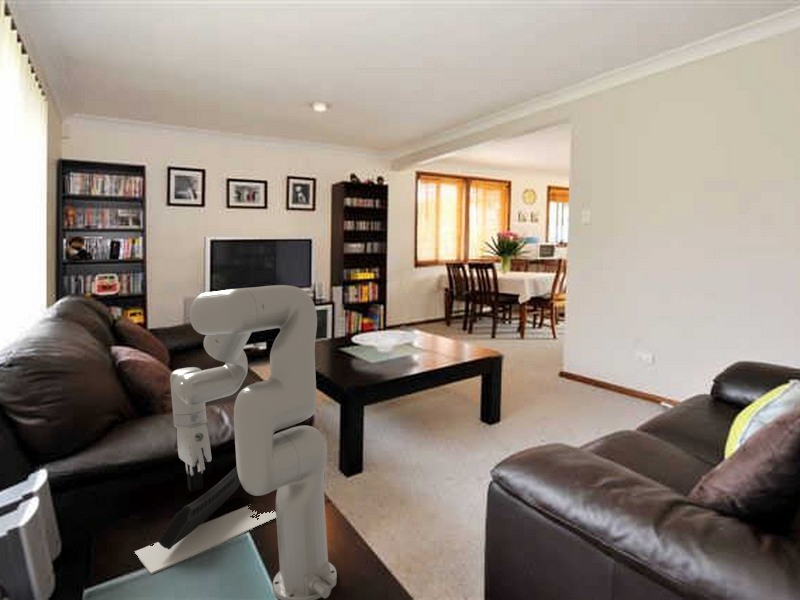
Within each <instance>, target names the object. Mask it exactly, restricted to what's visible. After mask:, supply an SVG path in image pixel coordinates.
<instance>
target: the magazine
mask: <svg viewBox="0 0 800 600" xmlns="http://www.w3.org/2000/svg"><path fill="white" fill-rule="evenodd" d="M240 485H241V483H240V480H239V477H238V472H237V464H236V466H235V467H234V468H232V469H231V470H230V471H229V472H228V473H227V474H226V475H224V477H223V478H222V479H221V480H220V481H218V482H217V483H216V484H215V485H214V486H213V487H211V488H210V489H208V490H207V491H206V492H205V493H203V494H202V495H200V496H199V497H198V498H196V499H195V500H194V501H192V502H190V503H189V504H187V505H186V504H185V505H184V506H183V507H182V509H181V510H179V511H177V512H176V513H175V514H174V516H173V518H172V519H171V521H170V522H169V524H168V525H167V527H166V528H165V530H164V531H163V532H162V534H161V536H160V537H159V539H158V540H157V542H159V543H160V545H161V546H163V547H164V548H165V549H166V548H167V549H168V550H169V549H171V548H172V546H174V545H175V544H176V543H178V542H179V541H180V540H182V539H183V538H184V537H186V536H187V535H188V534H189V533H191V532H192V531H193V530H194V529H196V528H197V527H198V526H199V525H201V524H204V523H205V521H206V520H207V519H208V518H209V517H211V516H212V515H213V514H214V513H215V512H216V510H218V509H219V508H220V507H221V506H222V505H223V504H224V503H225V502H226V501H227V500H228V499H229V498H230V497H231V496H232V495H233V494H234V493H235V492H236V491H237V489H239V487H240Z"/></svg>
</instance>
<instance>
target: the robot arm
mask: <svg viewBox="0 0 800 600" xmlns="http://www.w3.org/2000/svg"><path fill="white" fill-rule="evenodd" d="M190 305H191V306H190V309H189V321H190V324H191V326H192V329H193V330H195V332H197V333H198V334H201V335H205V337H204V338H203V348H204V350H205V352H206V353H207V354H208V355H209V356H210V357H211V358H213V359H214V360H217V361H219V362H223V363H225V364H224V365H222V366H218V367H212V368H207V369H203V370H202V369H201V368H200V367H195V366H192V367H189V366H188V367H183V368H177V369H175V370H173V371H172V372H171V373H170V376H169V379H170V380H169V381H170V382H169V383H170V392H171V394H170V395H171V404H172V405H171V406H172V416H173V425H174V426H173V427H174V428H176V442H177V443H176V444H177V446H176V447H177V452H178V453H177V454H178V458H179V459H180V461H183V462H184V463H185V471H186V474H187V475H186V479H187V489H188V490H189V491H190V492H196V491H198V490H201V489H203V488H204V478H203V477H204V476H203V474H204V471H205V470H206V467H205V462H207V463H210V462H211V461H212V452H211V443H210V437H209V431H208V426H207V424H206V423H207V422H208V419H207V409H206V403H207V402H211V401H215V400H219V399H222V398H226V397H229V396H232V395H234V394H235V393H236V392H237V391H238V390H239V389H240V388H241V386H242V385H243V383H244V381H245V379H246V377H247V375H248V368H249V363H248V357H247V355H246V352H245V351H244V349H245V346H246V344H247V342H248V340H249V339H250V336H251V335H252V333H256V332H261V331H266V330H273V329H280V331H279V333H278V334H277V336H276V337H275V339H274V341H273V344H272V345H271V346H272V347H271V350H270V353H269V365H270V367H269V369H270V370H269V371H270V372H269V377H268V379H266V380H262V381H258V382H257V381H256V382H255V383H251V384H249V385H247V386H245V387H244V388H243V389H241V390H240V391H239V393H238V394H237V396H236V398H235V401H234V405H233V426H234V428H233V430H234V431H233V432H234V445H235V462H236V465H237V472H238V477H239V480H240V485H241V486H242V488H243V490H244V491H245V492H246V493H248V494H249V495H252V496H256V497H257V496H265V495H267V494H270V493H271V492H274V491H276V496H275V512H276V519H275V520H276V532H277V536H276V537H277V547H278V561H279V564H278V565H279V571H278V572H276V575H275V576H274V578H273V581H272V591H273V594H274V595H275V597H276V598H277V599H279V600H319V599H321V598H323V599H327V598H328V597H329V596H330V595H331V593H332V590H333V588H334V587H335V586H336V585H337V581H338V580H337V578H338V576H337V575H338V574H337V569H336V567H335V565H333V564H332V563H331V562H329V555H328V537H327V523H326V522H327V521H326V508H325V506H326V504H325V471H326V470H325V469H326V465H327V464H326V462H327V457H328V455H327V454H328V453H327V450H328V449H327V442H326V440H325V437H324V435H323V434H322V432H321V431H320V430H319V429H318V428H316V427H315V426H310V425H298V426H297V425H296V424H299V423H302V422H304V421H306V420H308V419H309V418H311V417H312V416H313V415H314V413H315V412H316V409H317V380H316V355H315V351H316V350H315V348H316V338H317V337H316V336H317V331H318V330H317V328H318V316H317V315H318V313H317V310H316V309H317V308H316V305H315V303H314V301H313V299H312V298H311V296H310V295H309V293H308V292H306V291H305V290H304V289H302V288H300V287H297V286H293V285H287V284H283V285H282V284H278V285H265V286H256V287H255V286H253V287H242V288H229V289H225V290H217V291H205V292H202V293H200V294H198V296H196V297H195V298H194V300H193V301H192V303H191V304H190ZM295 425H296V426H295ZM293 426H294V427H293ZM289 427H290V428H289ZM286 428H287V429H286ZM283 429H285V430H283ZM281 430H282V431H281ZM277 431H279V432H277ZM275 432H277V433H275Z"/></svg>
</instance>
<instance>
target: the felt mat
mask: <svg viewBox="0 0 800 600" xmlns="http://www.w3.org/2000/svg"><path fill="white" fill-rule="evenodd" d="M249 507H250V506H249ZM249 507H248V505H246V506H244V507H241V508H239V509H237V510H234V511H231V512H229V513H225V514H223V515H221V516H219V517H216V518H214V519H211V520H209V521H206V522H203V523H201V524H200V525H199V526H198V527H197V528H196V529H194V530H193V531H192V532H191V533H189V534H188V535H187V536H186V537H184V538H183V539H182V540H180V541H179V542H178V543H176V544H175V545H174V546H172V548H171V549H169V550H168V549H167V548H166V549H165V548H164V547H163V546H161V545H160V543H159V542H158V541H157V542H155V543H153V544H154V545H153V546H150V545H151V544H150V545H147V546H145V547H143V548H140V549H137V550H134V552H135V553H134V555H135V554H136V555H137V556H138V557H137V556H136V555H135V556H136V557H137V558H139V559H138V560H139V562H140V563H141V564H142V565H143V566H144V567H145V568H146V570H147V571H148V573H149V574H150V575H153V574H156V573H157V572H160V571H163V570H164V569H166V568H169V567H171V566H173V565H176V564H178V563H180V562H182V561H185V560H186V559H187V560H188V559H189V558H191V557H194V556H196V555H198V554H200V553H203V552H205V551H207V550H209V549H212V548H214V547H216V546H219V545H221V544H223V543H225V542H227V541H230V540H233V539H234V538H236V537H239V536H241V535H243V534H246V533H248V532H250V531H252V530H254V529H253V528H255V527H257V526H259V525H261V526H263V525H262V524H264V523H266V522H268V523H270V522H271V521H270V520H273V519H275V518H276V510H273V511H274V512H273V511H271V512H270V513H269V512H267V513H265V512H264V513H263V514H261V513H260V514H258V515H260V516H259V517H257V518H259V519H258V520H257V518H255V517H256V516H255V515H256V514H257V511H256V512H255V510H254V511H253V512H252V510H250V509H248V508H249ZM272 512H273V513H272ZM253 514H255V515H253ZM252 515H253V516H255V517H254V518H252V517H250V516H252ZM258 515H257V516H258ZM275 520H276V519H275ZM269 521H270V522H269ZM273 521H274V520H273ZM266 524H267V523H266ZM264 525H265V524H264ZM259 527H260V526H259ZM257 528H258V527H257ZM255 529H256V528H255ZM249 530H250V531H249ZM247 531H248V532H247ZM245 532H246V533H245Z"/></svg>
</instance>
